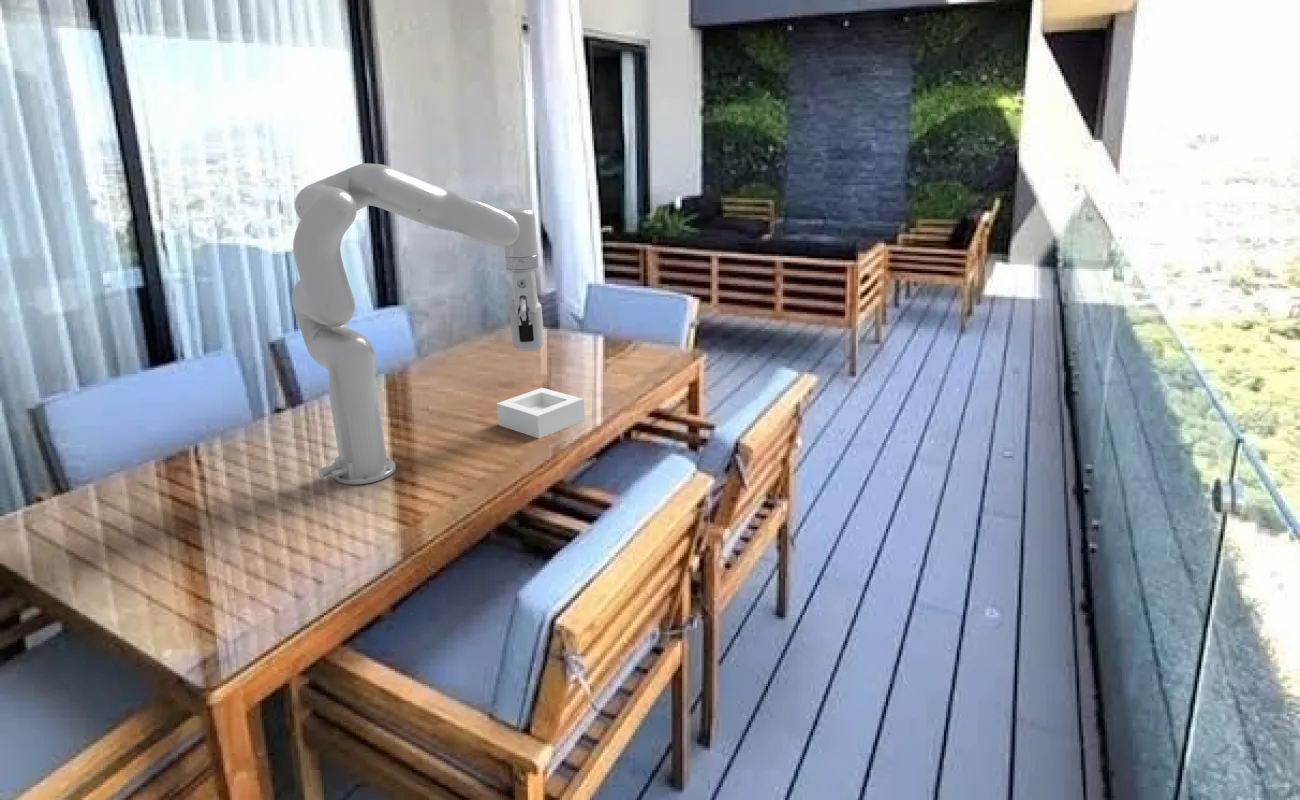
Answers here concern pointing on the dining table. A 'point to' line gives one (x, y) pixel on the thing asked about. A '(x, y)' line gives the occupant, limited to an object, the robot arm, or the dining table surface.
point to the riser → (540, 412)
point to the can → (537, 329)
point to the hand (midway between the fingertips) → (528, 336)
